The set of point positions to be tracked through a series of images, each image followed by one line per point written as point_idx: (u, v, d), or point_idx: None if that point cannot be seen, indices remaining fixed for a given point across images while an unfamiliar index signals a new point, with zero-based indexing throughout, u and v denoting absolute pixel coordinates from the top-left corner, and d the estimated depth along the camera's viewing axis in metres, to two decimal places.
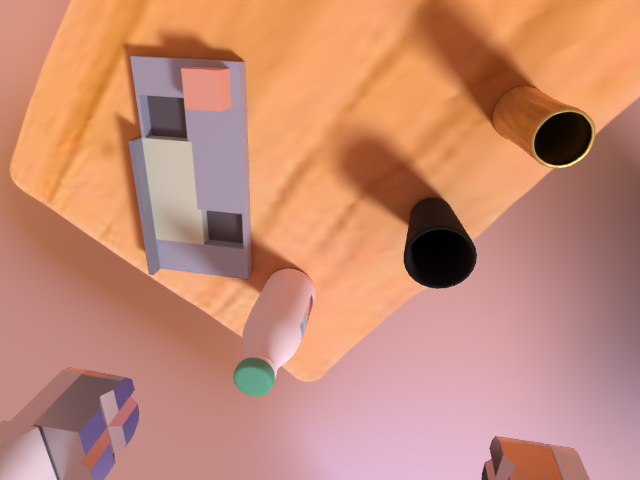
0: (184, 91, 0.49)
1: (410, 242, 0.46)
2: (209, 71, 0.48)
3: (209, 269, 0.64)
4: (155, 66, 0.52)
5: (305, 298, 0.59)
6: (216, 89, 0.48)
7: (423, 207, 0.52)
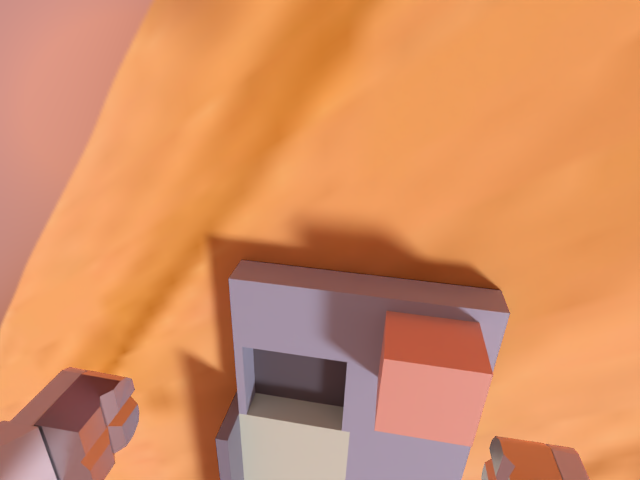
0: (381, 401, 0.19)
1: None
2: (464, 373, 0.18)
3: None
4: (288, 302, 0.22)
5: None
6: (472, 408, 0.19)
7: None
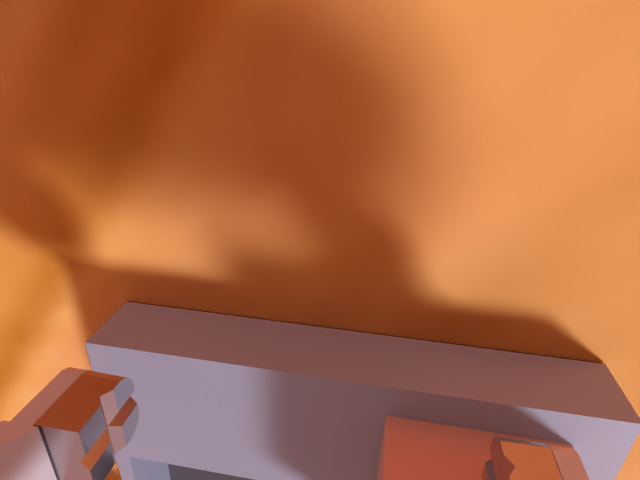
0: None
1: None
2: None
3: None
4: (199, 387, 0.12)
5: None
6: None
7: None
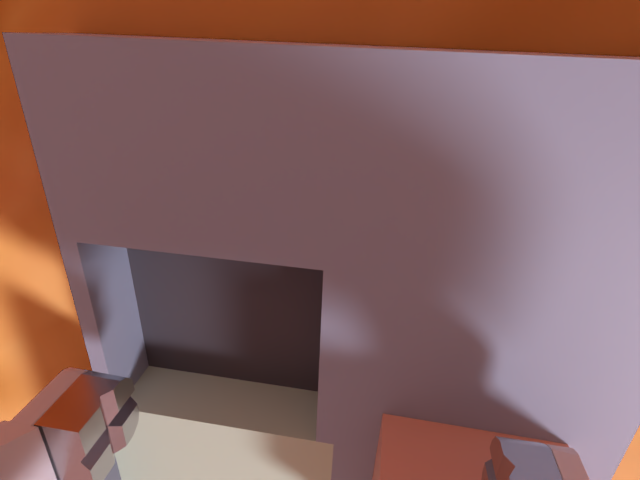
0: None
1: None
2: None
3: None
4: (163, 96, 0.08)
5: None
6: None
7: None
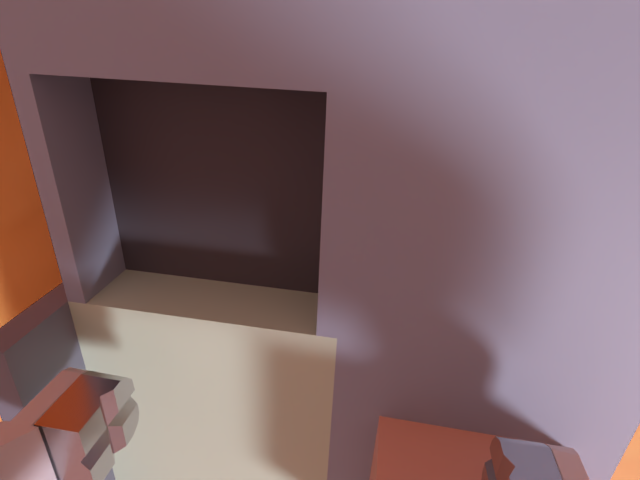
0: None
1: None
2: None
3: None
4: None
5: None
6: None
7: None
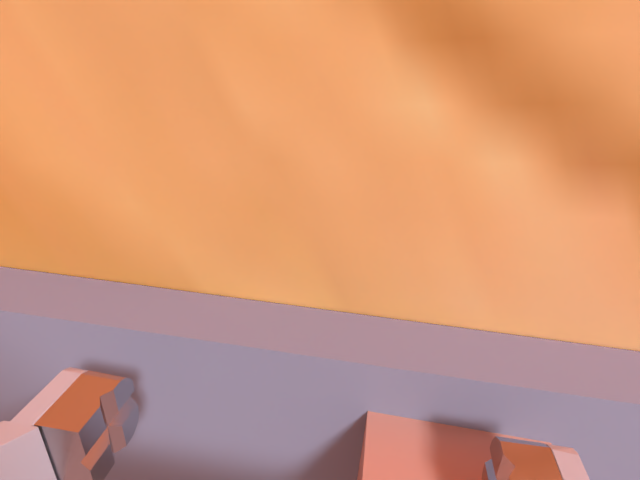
0: None
1: None
2: None
3: None
4: None
5: None
6: None
7: None
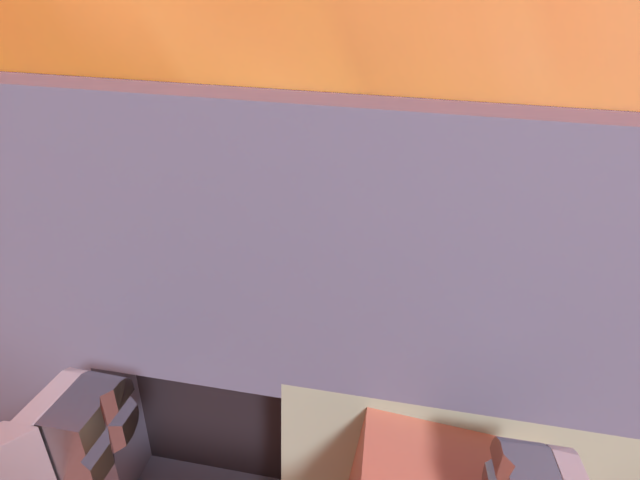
0: None
1: None
2: None
3: None
4: None
5: None
6: None
7: None
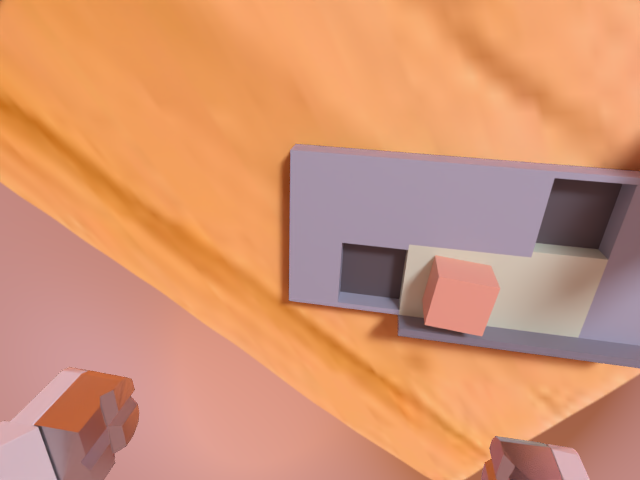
0: (456, 329, 0.33)
1: None
2: (437, 289, 0.32)
3: None
4: (300, 271, 0.37)
5: None
6: (465, 286, 0.31)
7: None
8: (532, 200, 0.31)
